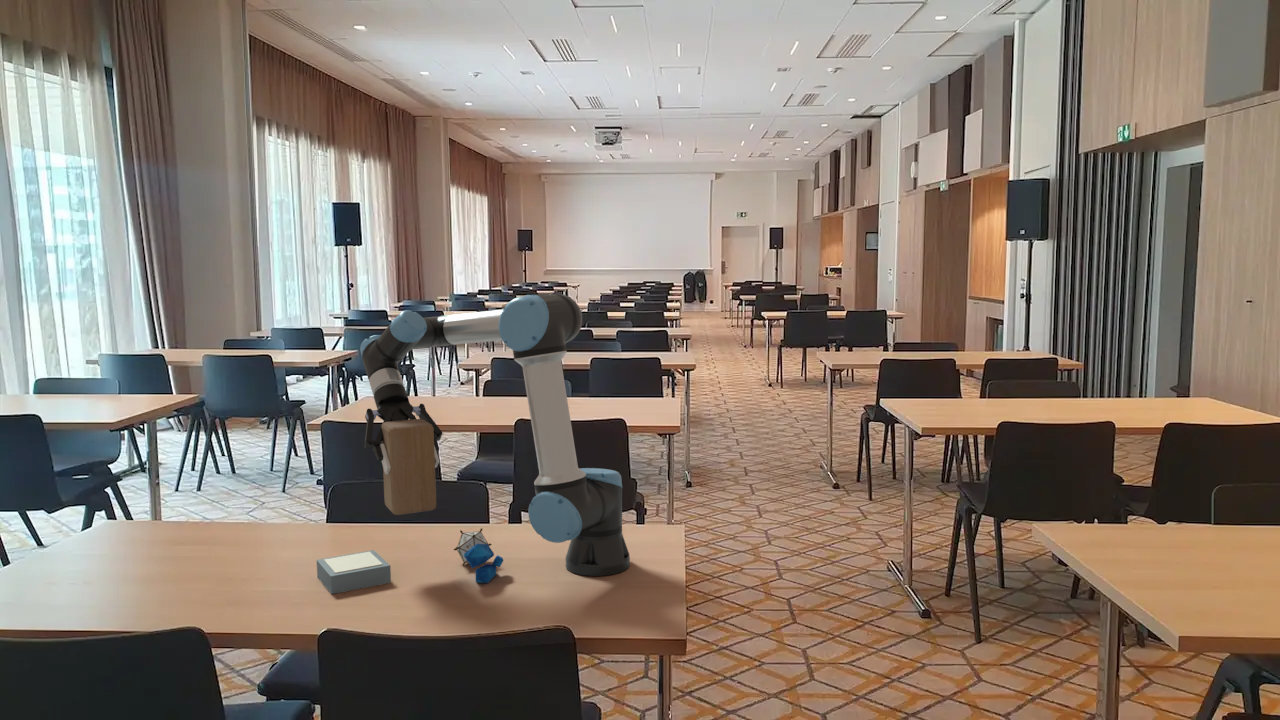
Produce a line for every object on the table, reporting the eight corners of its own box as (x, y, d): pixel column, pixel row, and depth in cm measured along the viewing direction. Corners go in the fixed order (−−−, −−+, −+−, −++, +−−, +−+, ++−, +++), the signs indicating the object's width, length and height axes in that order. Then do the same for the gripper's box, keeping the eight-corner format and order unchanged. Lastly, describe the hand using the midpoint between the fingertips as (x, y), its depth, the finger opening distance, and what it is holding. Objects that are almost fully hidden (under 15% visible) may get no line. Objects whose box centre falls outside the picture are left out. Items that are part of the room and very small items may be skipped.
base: (390, 582, 202) (390, 564, 202) (331, 594, 195) (330, 575, 195) (374, 566, 213) (373, 549, 213) (317, 576, 206) (316, 559, 206)
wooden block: (393, 516, 201) (389, 428, 199) (383, 506, 210) (380, 421, 208) (437, 510, 206) (434, 424, 204) (426, 500, 215) (423, 417, 213)
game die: (477, 580, 214) (480, 555, 208) (446, 565, 215) (448, 540, 209) (495, 552, 221) (499, 527, 214) (464, 538, 222) (467, 513, 215)
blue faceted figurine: (510, 542, 209) (490, 546, 197) (507, 580, 208) (487, 586, 196) (480, 540, 211) (458, 543, 199) (477, 578, 210) (456, 584, 198)
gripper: (432, 397, 225) (457, 470, 213) (337, 405, 212) (358, 483, 201) (438, 378, 220) (464, 451, 208) (342, 385, 207) (364, 464, 196)
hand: (412, 467), depth 204 cm, fingers closed on wooden block, 10 cm apart
